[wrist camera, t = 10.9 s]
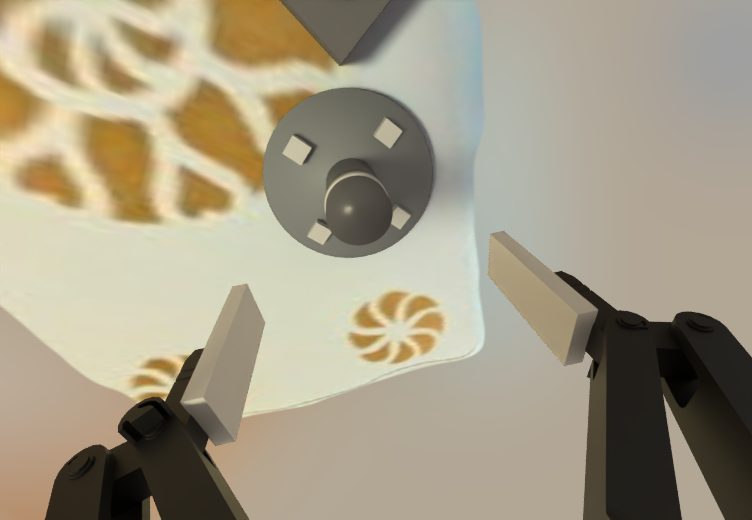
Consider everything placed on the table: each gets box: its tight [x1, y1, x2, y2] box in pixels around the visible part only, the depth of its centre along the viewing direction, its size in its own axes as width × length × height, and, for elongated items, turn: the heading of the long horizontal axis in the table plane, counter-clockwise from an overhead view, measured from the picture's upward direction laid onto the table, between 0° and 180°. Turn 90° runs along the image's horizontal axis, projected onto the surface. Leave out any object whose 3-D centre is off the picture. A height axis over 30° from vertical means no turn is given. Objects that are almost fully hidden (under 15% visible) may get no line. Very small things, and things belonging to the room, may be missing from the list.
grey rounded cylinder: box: [325, 158, 393, 246], centre depth 29 cm, size 6×6×9 cm
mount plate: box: [263, 88, 433, 258], centre depth 33 cm, size 18×18×2 cm
